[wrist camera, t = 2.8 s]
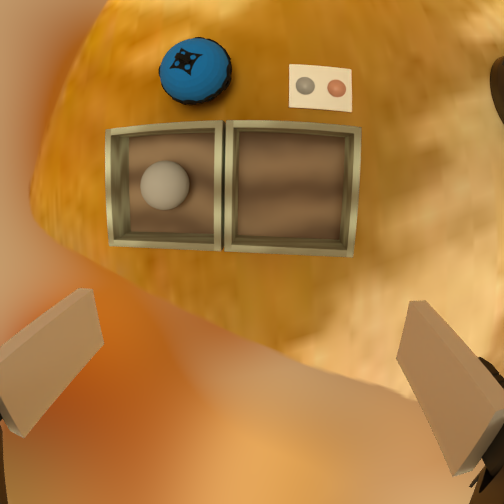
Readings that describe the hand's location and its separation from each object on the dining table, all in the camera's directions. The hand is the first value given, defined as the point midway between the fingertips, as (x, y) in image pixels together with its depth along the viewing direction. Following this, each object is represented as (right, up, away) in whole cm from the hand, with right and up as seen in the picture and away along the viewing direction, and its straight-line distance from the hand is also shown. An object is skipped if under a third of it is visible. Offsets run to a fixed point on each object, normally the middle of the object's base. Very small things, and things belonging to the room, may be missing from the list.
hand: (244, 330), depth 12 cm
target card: (+9, +24, +23) cm, 34 cm away
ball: (-10, +12, +27) cm, 31 cm away
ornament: (-6, +25, +24) cm, 35 cm away
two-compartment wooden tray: (-2, +12, +27) cm, 30 cm away
